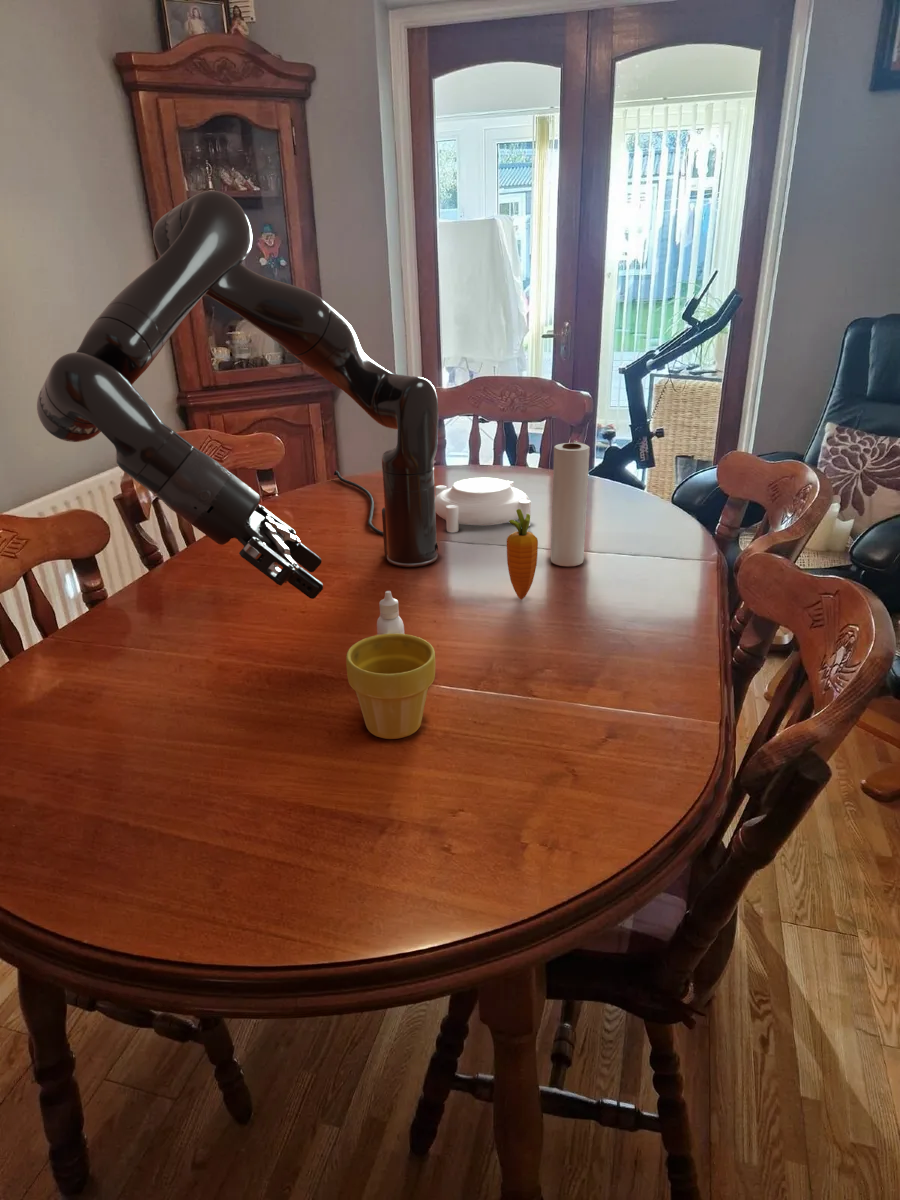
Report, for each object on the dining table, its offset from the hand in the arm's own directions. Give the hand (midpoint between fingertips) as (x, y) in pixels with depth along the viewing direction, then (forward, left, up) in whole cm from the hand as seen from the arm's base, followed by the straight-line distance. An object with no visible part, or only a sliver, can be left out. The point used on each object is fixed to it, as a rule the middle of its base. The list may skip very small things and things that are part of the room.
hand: (318, 579), depth 93 cm
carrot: (0, +38, -15) cm, 41 cm away
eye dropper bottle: (+5, +7, -15) cm, 17 cm away
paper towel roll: (-5, +57, -15) cm, 59 cm away
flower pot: (+13, 0, -15) cm, 20 cm away
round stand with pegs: (-35, +65, -15) cm, 76 cm away
